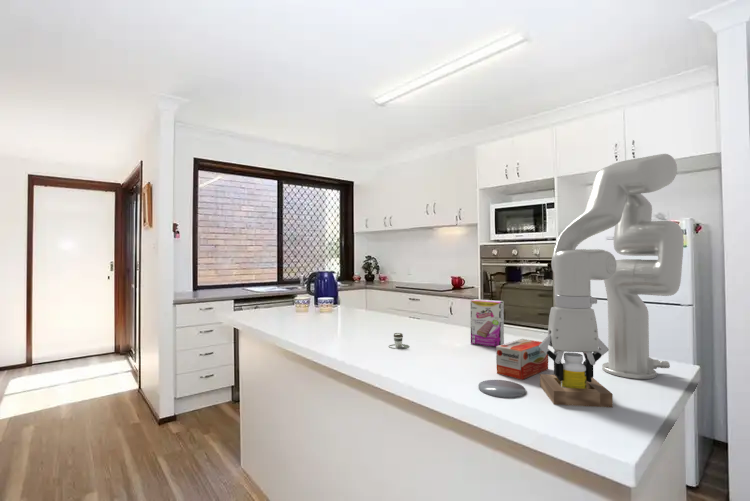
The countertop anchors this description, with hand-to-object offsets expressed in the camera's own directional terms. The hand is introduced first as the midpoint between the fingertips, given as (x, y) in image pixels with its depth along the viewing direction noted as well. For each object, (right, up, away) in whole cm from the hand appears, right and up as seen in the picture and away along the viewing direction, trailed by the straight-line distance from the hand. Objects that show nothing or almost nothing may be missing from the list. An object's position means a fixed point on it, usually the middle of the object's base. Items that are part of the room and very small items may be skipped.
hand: (573, 378), depth 90 cm
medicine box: (-5, -5, +19) cm, 20 cm away
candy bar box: (-5, -5, +51) cm, 51 cm away
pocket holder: (0, -4, 0) cm, 4 cm away
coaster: (-15, -4, +5) cm, 17 cm away
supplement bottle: (0, -4, 0) cm, 4 cm away
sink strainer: (-38, -5, +50) cm, 63 cm away
